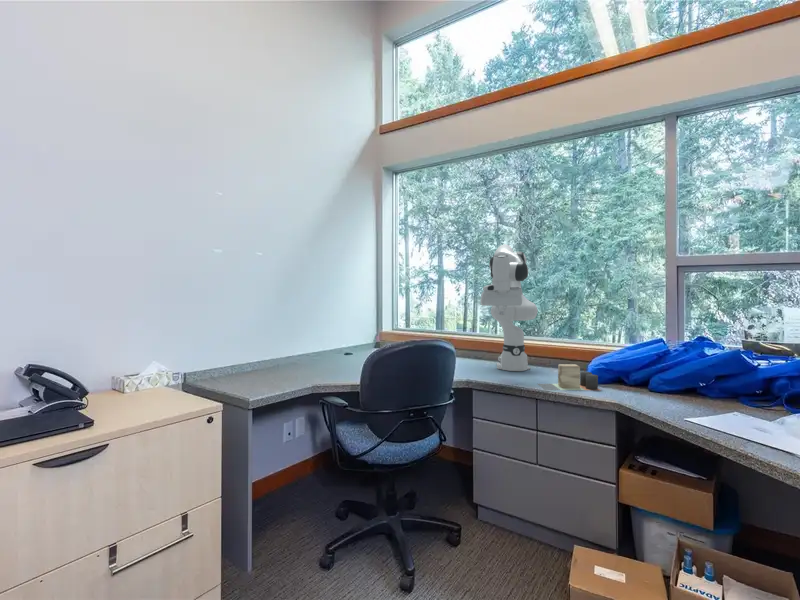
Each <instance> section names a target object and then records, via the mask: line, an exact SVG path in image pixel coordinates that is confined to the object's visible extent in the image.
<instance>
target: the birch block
mask: <svg viewBox="0 0 800 600" xmlns="http://www.w3.org/2000/svg"><path fill="white" fill-rule="evenodd" d="M557 366H558V368H557V384H558V386H559V387H561V388H580V372H581V365H578V364H572V363H571V364H566V363H565V364H561V363H559V364H558V365H557Z"/></svg>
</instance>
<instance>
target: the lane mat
mask: <svg viewBox="0 0 800 600" xmlns="http://www.w3.org/2000/svg"><path fill="white" fill-rule="evenodd" d="M537 386H538V387H540V388H541V389H543V391H590V390H589V389H586V387H585V386H581V385H580V388H561V387H559V386H558V383H537ZM597 391H601V388H598V390H597Z"/></svg>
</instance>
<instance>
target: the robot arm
mask: <svg viewBox="0 0 800 600" xmlns="http://www.w3.org/2000/svg"><path fill="white" fill-rule="evenodd" d="M488 264H489V269H490V277H491V278H492V280H491V281H492V282H491V284H487V285H484V286H483V287H482V290H483V291H482V292H481V295H480V305H481V306H487V307H489V306H490V307H491V308H490V314H491V316H492V318H493V319H494V320H496V321H497V322H498V323H499V325H500V326H501V328H502V331H503V343H502V344H503V345H502V352H501V354H500V355H499V356H498V357H497V360H498V361H499V362H497V363H496V368H497V370H503V371H509V372H510V371H511V372H524V371H528V370H531V367H530V366H528V365H529V364H528V362H529V361H528V355H527V353H526V352H525V350H526V348H525V333H524V331H523V329H522V328H520V327H519V326H517V325H515V324H514V323H513V322H514V321H519V322H521V321H522V322H523V321H526V322H527V321H532V320H534V319H536V317H537V316H538V310H539V309H538V307H537V305H536V303H535V302H533V301H530V300H529V299H528V298H526V297H525V295H524V293H523V289H522V282H524V281H525V280H526V279H527V278H528V276H529V266H528V264H527V256H526V255H525V253H524V252H523V251H514V250H513V248H512V247H511V246H510V245H509V244H501V245H499V246H498V247H497V249H496V250H495V251H494V254H493V256H492V257H491V258H489V263H488Z"/></svg>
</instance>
